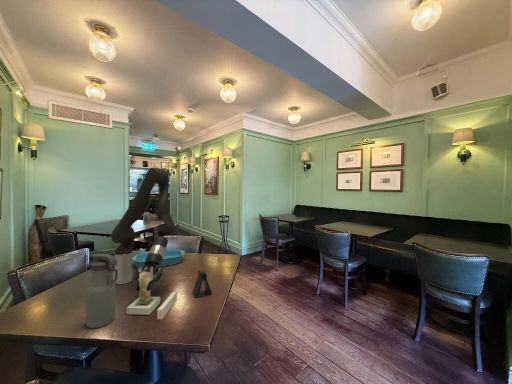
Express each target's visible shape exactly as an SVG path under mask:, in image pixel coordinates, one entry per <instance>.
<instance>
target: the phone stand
mask: <svg viewBox="0 0 512 384" xmlns="http://www.w3.org/2000/svg"><path fill="white" fill-rule="evenodd" d="M207 277H208V276H207V273H206V272H205V271H204V270H203V269H201V270H198V272H197V278H196V281H195V283H194V286H193V289H192V295H193V296H194V298H195V299H198V298H203V297H207V296H211V295H213V292H212V289H211V287H210V284H209V282H208V279H207ZM202 284H203V286H204V290H201V289H202Z"/></svg>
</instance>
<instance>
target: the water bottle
mask: <svg viewBox="0 0 512 384" xmlns="http://www.w3.org/2000/svg"><path fill="white" fill-rule="evenodd" d="M91 259H92V263H91V264H90V272H91V283H90V284H91V285H89V286H88V287H87V289H86V293H85V297H86V298H85V299H86V300H85V303H86V305H85V306H86V307H85V317H86V318H85V325H86V327H87V328H89V329H97V328H102V327H105V326H107V325H109V324H110V323H112V322H113V321H114V319H115V317H116V284H115V283H114V282H115V281H116V280H117V278H118V270H117V269H115V265H117V260H116V258H115V255H114V254H110V253H96V254H92V255H91ZM114 271H115V279H114V280H113V279H112V280H111V278H112V274H113V272H114Z"/></svg>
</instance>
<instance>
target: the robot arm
mask: <svg viewBox="0 0 512 384" xmlns="http://www.w3.org/2000/svg"><path fill="white" fill-rule="evenodd" d="M169 183H170V174H169V172H168V171H167V170H165V169H164V168H159V167H150V168H149V169H148V170H147V172H146V174H145V175H144V178H143V179H142V182H141V184H140V187H139V189H138V191H137V192H136V193H135V195H134V197H133V199H132V201H131V202H130V204H129V205H128V207H127V210H126V211H125V213H124V214H123V216H122V217H121V219H120V220H119V222H118V223H117V224H116V226H115V227H114V229H112V231H111V235H110V238H111V241H112V242H113V243H115V244H119V245H118V246H117V247H116V248H115V249H114V257H115V258H116V260H117V265H115V269H117V270H118V278H117V280H116V281H115V282H114V284H115V285H126V284H128V283H130V282H132V281H133V261H132V257H133V249H134V247H135V237H136V236H135V235H136V234H135V230H134V228H133V224H135V223H136V222H137V221H138V220H140V218H142V217H143V216H144V215H145V213H146V212H147V210H148V209H149V207H150V204H151V192H152V190H153V188H154V186H155V185H158V196H157V198H156V203H155V210H156V218H157V219H158V220H161V221H163V222H164V223H162V224H158V225H157V226H156V227H155V231H154V241H153V242H152V245H151V247H150V249H149V250H148V252H149V253H148V252H147V253H148V256H147V258H146V260H145V264H144V266H143V267H142V268H138V267H136V268H135V271H134V272H135V273H134V280H135V281H136V285H135V287H134V289H135V291H137V292H139V274H140V273H143V272H150V281H149V283H148V286H147V289H146V290H147V291H150V292H151V290H152V289H153V285H154V283H158V282H159V281H160V279H161V278H162V276H163V275H164V273H165V269H164V268H163V267H160V265H161V262H162V259H163V257H164V254H165V250H166V249H167V246H168V243H169V240H168V238H166V237H167V236H172V235H174V234H175V232H176V225H175V222H174V220H173V217H172V215H171V210H170V201H169V192H170V191H169V190H170V189H169V185H170V184H169ZM114 279H115V271H114V272H112V281H113V280H114Z"/></svg>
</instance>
